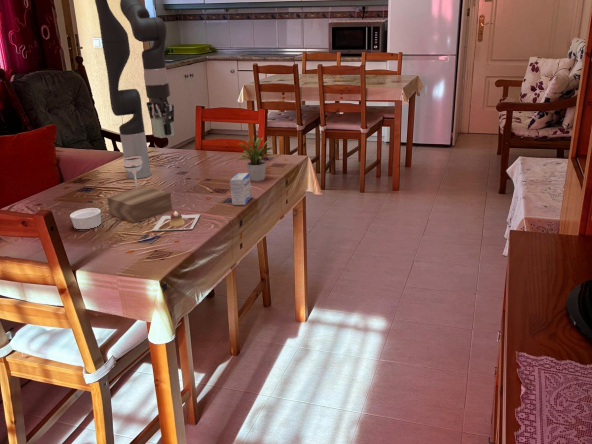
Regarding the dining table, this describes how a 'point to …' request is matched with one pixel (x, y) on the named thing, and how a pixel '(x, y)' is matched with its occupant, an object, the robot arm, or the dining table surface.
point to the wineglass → (133, 165)
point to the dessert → (176, 221)
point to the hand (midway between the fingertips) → (163, 133)
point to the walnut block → (139, 204)
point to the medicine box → (240, 189)
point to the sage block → (160, 127)
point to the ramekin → (86, 218)
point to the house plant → (256, 160)
